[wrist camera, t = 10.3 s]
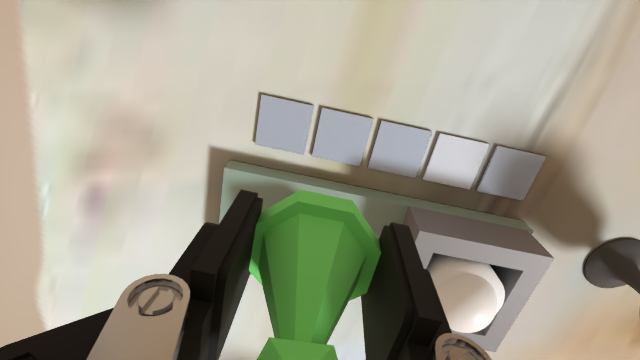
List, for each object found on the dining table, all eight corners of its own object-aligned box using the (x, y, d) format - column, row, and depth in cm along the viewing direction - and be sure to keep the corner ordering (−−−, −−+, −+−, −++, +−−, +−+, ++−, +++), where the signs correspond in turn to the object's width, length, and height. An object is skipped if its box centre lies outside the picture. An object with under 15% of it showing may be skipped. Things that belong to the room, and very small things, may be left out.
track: (261, 94, 22) (261, 94, 22) (544, 155, 23) (546, 156, 23) (255, 143, 24) (255, 144, 24) (521, 199, 25) (523, 200, 25)
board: (230, 160, 25) (207, 187, 20) (522, 220, 26) (561, 259, 21) (220, 255, 28) (199, 296, 24) (476, 305, 29) (501, 353, 25)
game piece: (406, 235, 11) (474, 450, 5) (329, 313, 12) (320, 540, 7) (294, 162, 10) (235, 329, 4) (228, 256, 11) (125, 464, 6)
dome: (426, 235, 24) (447, 281, 20) (499, 250, 24) (536, 299, 20) (402, 293, 26) (416, 345, 22) (470, 306, 26) (496, 360, 22)
